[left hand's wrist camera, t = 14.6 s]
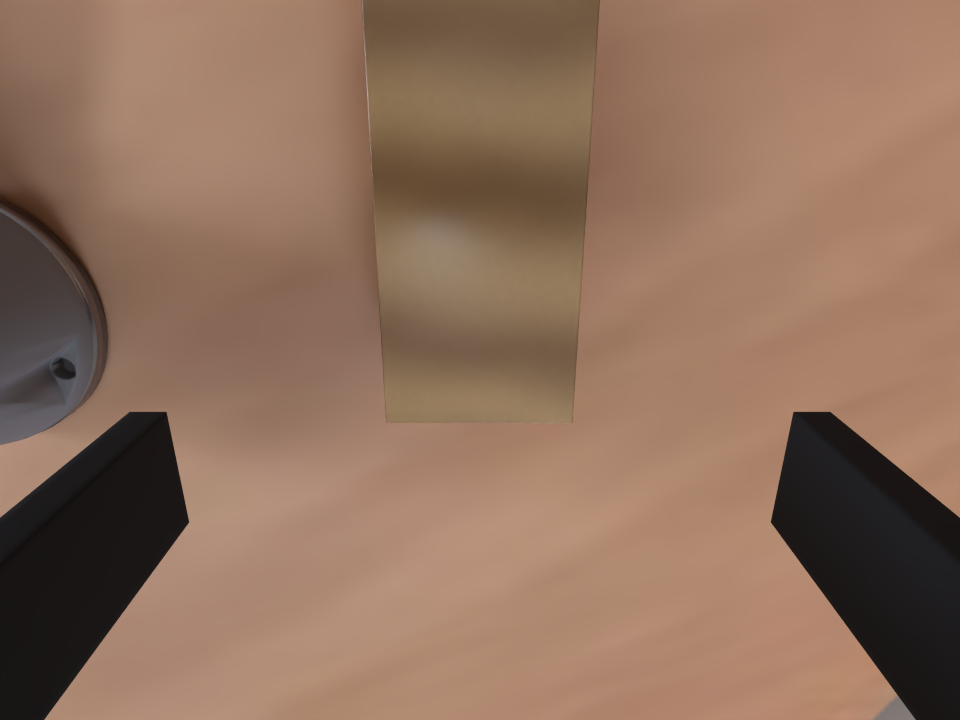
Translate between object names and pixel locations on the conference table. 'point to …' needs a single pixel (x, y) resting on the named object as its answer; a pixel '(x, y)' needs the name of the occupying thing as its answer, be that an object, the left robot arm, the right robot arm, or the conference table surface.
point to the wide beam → (479, 202)
